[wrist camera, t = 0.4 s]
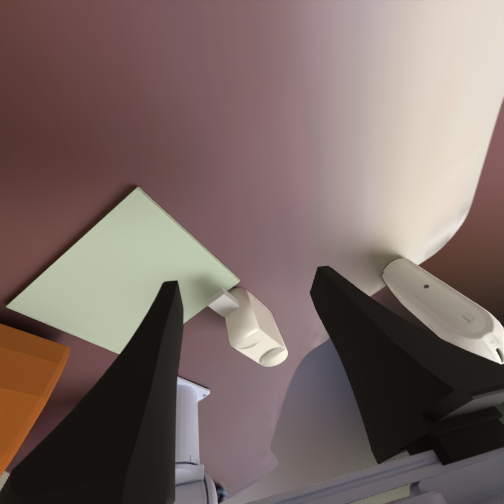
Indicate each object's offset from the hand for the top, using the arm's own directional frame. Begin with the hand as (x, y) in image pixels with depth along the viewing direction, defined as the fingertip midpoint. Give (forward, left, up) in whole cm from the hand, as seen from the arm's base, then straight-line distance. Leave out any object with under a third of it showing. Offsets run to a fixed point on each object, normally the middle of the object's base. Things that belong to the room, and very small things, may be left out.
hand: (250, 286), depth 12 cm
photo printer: (+12, -24, -11) cm, 29 cm away
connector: (-6, -10, -10) cm, 16 cm away
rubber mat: (-12, 0, -10) cm, 16 cm away
